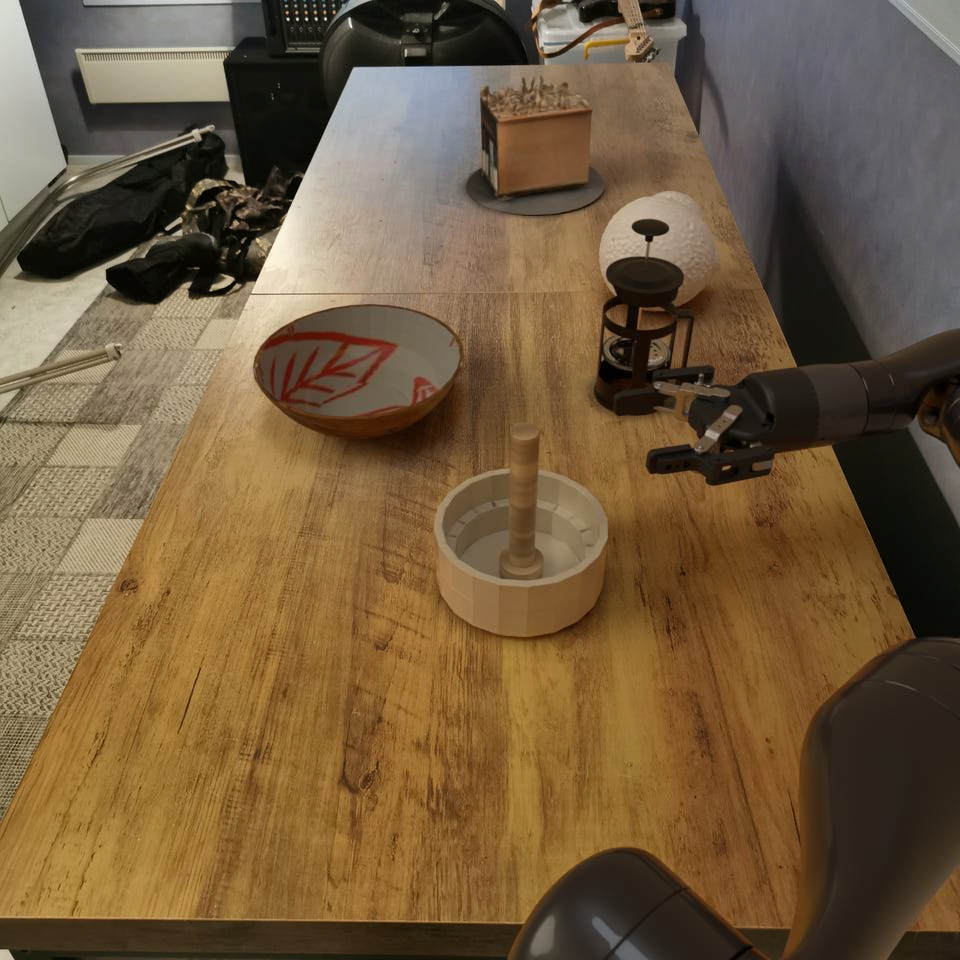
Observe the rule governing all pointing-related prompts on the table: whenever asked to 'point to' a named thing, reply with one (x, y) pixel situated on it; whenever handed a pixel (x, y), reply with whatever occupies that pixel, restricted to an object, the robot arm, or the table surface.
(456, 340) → the bowl
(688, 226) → the decorative orb
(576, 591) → the cream open cylinder
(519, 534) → the wooden pestle
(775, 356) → the table surface
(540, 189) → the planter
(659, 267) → the french press
